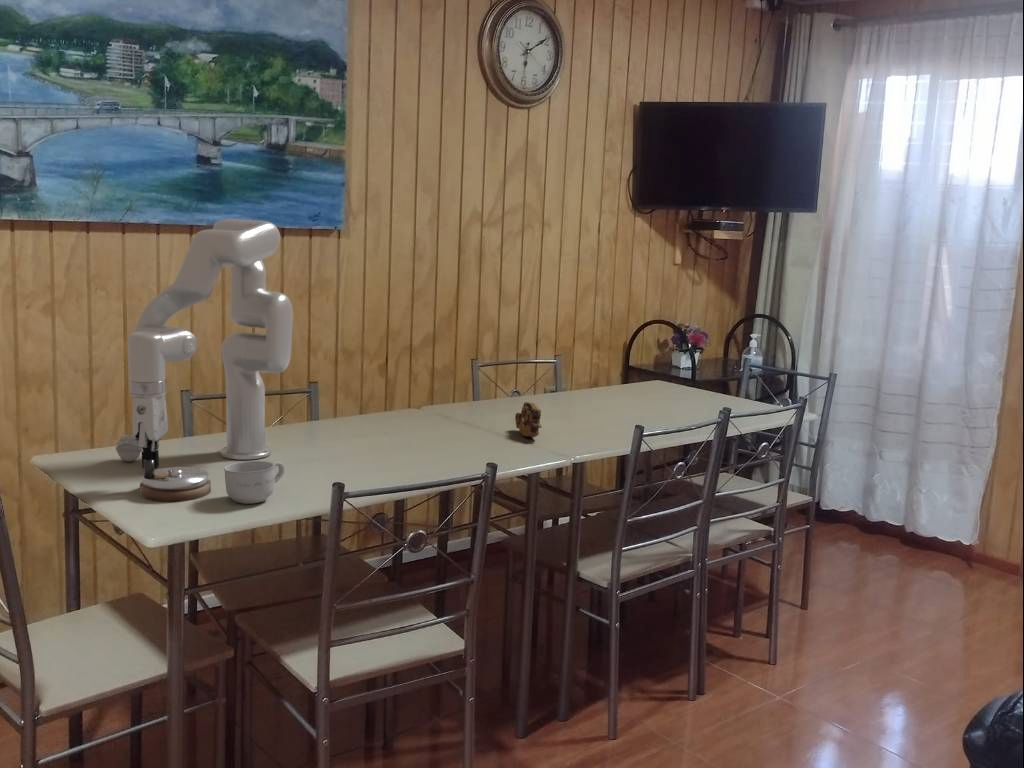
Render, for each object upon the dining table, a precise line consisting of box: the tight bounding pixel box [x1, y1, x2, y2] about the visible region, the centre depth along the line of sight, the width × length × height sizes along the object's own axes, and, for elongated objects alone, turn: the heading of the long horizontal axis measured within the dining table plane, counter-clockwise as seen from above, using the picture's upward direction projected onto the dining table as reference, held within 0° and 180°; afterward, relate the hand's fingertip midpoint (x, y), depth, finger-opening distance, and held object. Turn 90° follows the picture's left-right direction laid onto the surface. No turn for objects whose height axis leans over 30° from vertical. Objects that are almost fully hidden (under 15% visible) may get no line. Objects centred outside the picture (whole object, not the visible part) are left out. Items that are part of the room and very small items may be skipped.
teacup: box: [223, 460, 285, 505], centre depth 219 cm, size 14×11×8 cm
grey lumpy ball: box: [115, 434, 142, 463], centre depth 244 cm, size 6×7×7 cm
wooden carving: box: [514, 401, 542, 438], centre depth 289 cm, size 16×5×10 cm, turn 23°
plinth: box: [139, 478, 212, 503], centre depth 222 cm, size 15×15×2 cm
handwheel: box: [141, 459, 209, 491], centre depth 221 cm, size 14×14×6 cm
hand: (150, 467), depth 222 cm, fingers closed
